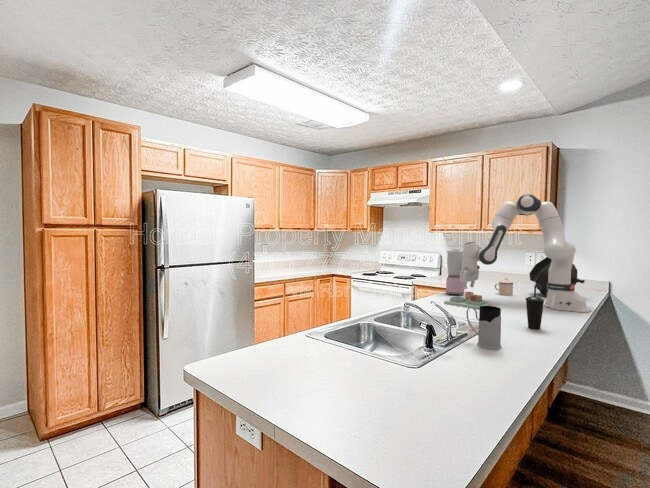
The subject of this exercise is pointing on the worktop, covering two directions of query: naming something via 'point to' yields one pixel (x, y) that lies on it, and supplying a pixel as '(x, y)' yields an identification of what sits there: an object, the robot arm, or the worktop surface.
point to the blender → (454, 272)
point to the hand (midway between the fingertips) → (468, 288)
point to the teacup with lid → (505, 287)
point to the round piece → (468, 295)
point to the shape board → (466, 302)
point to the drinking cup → (534, 310)
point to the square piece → (476, 298)
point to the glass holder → (488, 327)
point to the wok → (541, 275)
